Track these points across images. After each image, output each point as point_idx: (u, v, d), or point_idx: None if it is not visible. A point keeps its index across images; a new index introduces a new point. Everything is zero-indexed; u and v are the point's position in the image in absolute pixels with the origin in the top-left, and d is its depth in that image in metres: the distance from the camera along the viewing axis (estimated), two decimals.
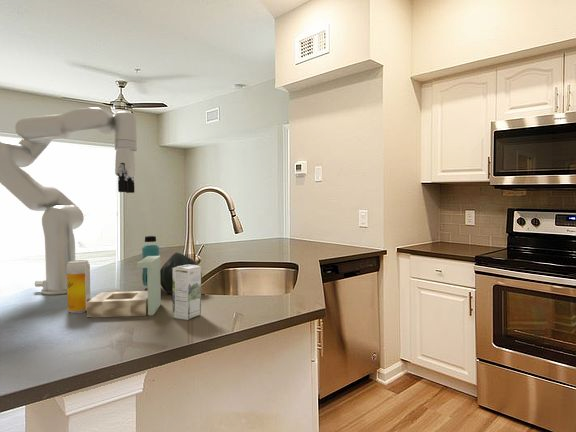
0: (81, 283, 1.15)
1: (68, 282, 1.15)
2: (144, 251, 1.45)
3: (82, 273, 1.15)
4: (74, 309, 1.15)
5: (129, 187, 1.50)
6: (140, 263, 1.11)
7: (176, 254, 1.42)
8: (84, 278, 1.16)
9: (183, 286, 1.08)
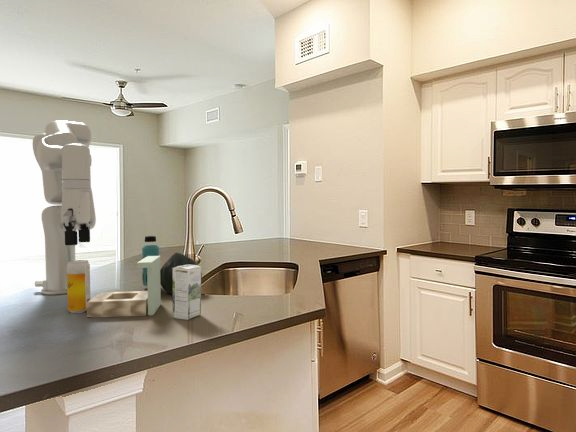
0: (81, 283, 1.15)
1: (68, 282, 1.15)
2: (144, 251, 1.45)
3: (82, 273, 1.15)
4: (74, 309, 1.15)
5: (83, 235, 1.21)
6: (140, 263, 1.11)
7: (176, 254, 1.42)
8: (84, 278, 1.16)
9: (183, 286, 1.08)
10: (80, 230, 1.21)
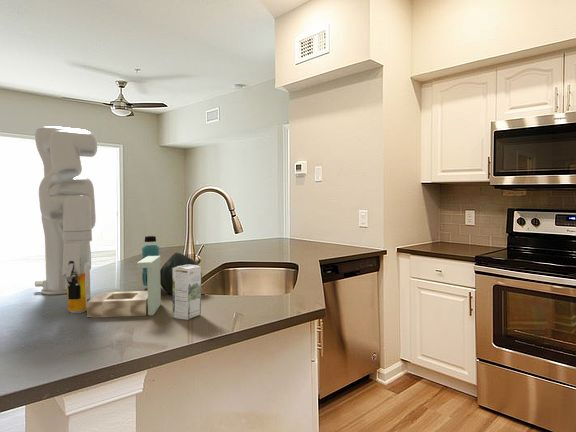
0: (81, 283, 1.15)
1: None
2: (144, 251, 1.45)
3: None
4: (74, 309, 1.15)
5: None
6: (140, 263, 1.11)
7: (176, 254, 1.42)
8: (84, 278, 1.16)
9: (183, 286, 1.08)
10: None
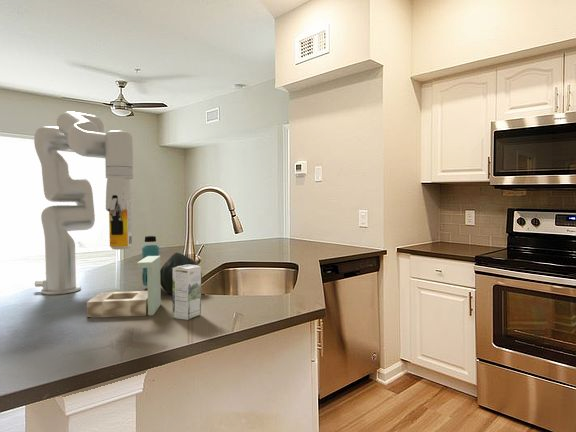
0: (123, 219, 1.14)
1: (110, 218, 1.14)
2: (144, 251, 1.45)
3: None
4: (117, 245, 1.14)
5: None
6: (140, 263, 1.11)
7: (176, 254, 1.42)
8: (126, 214, 1.15)
9: (183, 286, 1.08)
10: None
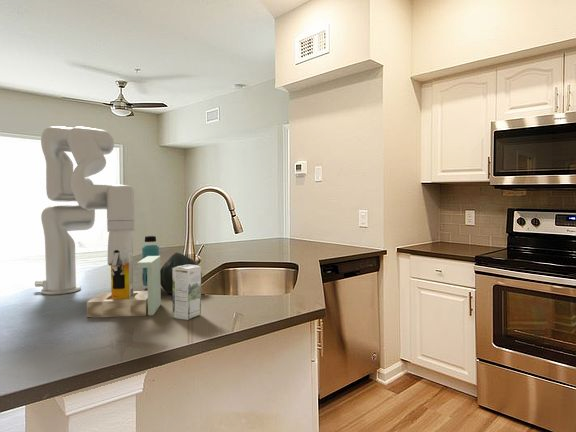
0: (125, 272, 1.15)
1: (112, 272, 1.15)
2: (144, 251, 1.45)
3: None
4: None
5: None
6: (140, 263, 1.11)
7: (176, 254, 1.42)
8: (128, 267, 1.15)
9: (183, 286, 1.08)
10: None
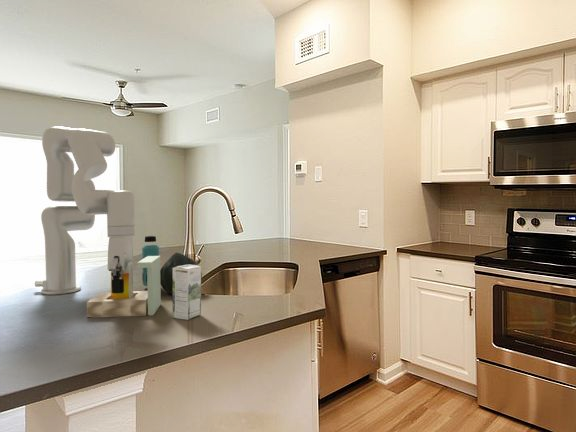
0: (125, 282, 1.15)
1: None
2: (144, 251, 1.45)
3: (126, 272, 1.15)
4: None
5: None
6: (140, 263, 1.11)
7: (176, 254, 1.42)
8: (128, 278, 1.16)
9: (183, 286, 1.08)
10: None
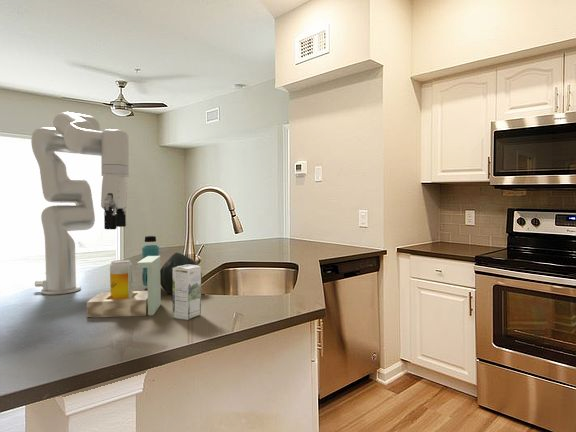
0: (124, 282, 1.15)
1: (112, 282, 1.15)
2: (144, 251, 1.45)
3: (125, 272, 1.15)
4: None
5: (119, 220, 1.23)
6: (140, 263, 1.11)
7: (176, 254, 1.42)
8: (127, 278, 1.16)
9: (183, 286, 1.08)
10: (116, 215, 1.23)
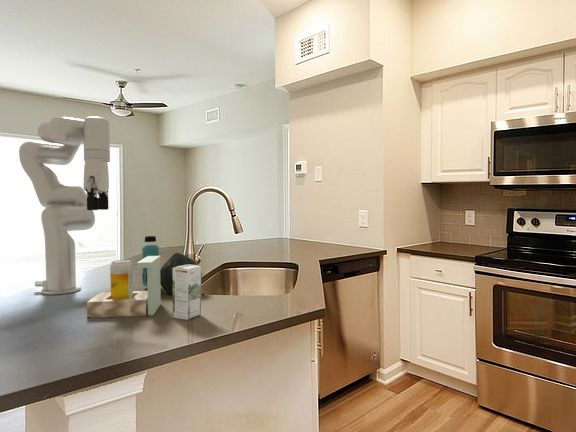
0: (125, 283, 1.15)
1: (112, 282, 1.15)
2: (144, 251, 1.45)
3: (125, 273, 1.15)
4: None
5: (102, 203, 1.30)
6: (140, 263, 1.11)
7: (176, 254, 1.42)
8: (127, 278, 1.16)
9: (183, 286, 1.08)
10: (99, 198, 1.30)
